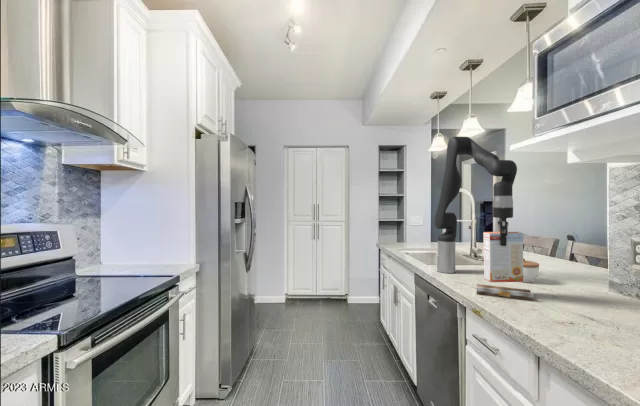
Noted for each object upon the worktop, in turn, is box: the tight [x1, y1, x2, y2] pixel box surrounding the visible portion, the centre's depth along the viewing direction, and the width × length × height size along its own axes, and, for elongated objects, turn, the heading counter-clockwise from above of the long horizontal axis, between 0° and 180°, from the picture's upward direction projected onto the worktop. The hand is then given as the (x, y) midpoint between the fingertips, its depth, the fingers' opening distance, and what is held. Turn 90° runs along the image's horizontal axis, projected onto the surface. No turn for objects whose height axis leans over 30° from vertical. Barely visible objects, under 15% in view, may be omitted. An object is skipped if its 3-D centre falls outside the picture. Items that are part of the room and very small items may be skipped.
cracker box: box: [482, 231, 524, 283], centre depth 132 cm, size 14×6×21 cm, turn 89°
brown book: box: [476, 283, 535, 302], centre depth 131 cm, size 20×12×3 cm, turn 62°
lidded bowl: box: [522, 257, 540, 284], centre depth 153 cm, size 13×13×11 cm
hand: (502, 244), depth 132 cm, fingers closed on cracker box, 8 cm apart
